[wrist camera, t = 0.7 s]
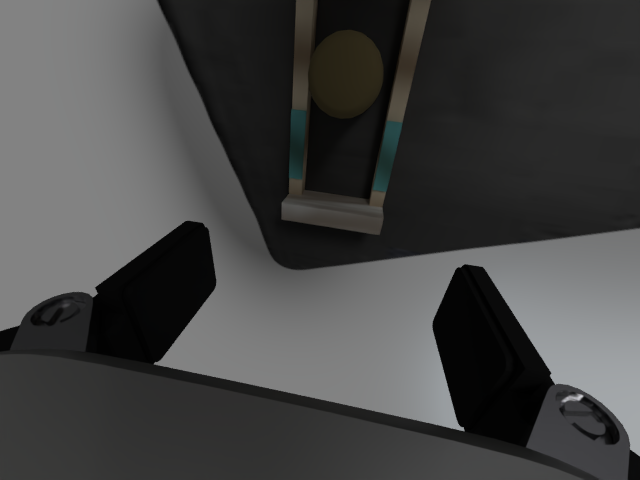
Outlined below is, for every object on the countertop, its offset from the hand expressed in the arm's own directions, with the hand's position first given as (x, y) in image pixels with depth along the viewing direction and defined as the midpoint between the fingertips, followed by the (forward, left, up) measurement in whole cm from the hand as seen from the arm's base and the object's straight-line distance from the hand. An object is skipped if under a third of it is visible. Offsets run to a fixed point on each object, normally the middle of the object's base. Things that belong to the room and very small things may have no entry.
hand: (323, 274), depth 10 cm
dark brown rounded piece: (-7, -1, -23) cm, 24 cm away
